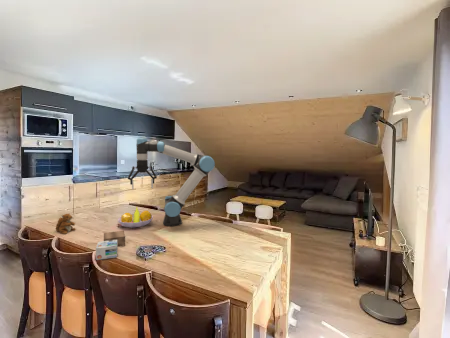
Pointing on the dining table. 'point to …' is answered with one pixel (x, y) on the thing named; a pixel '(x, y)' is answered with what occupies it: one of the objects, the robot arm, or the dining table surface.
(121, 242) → the walnut step
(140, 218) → the fruit bowl
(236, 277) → the dining table surface
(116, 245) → the light bulb box
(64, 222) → the stuffed squirrel
